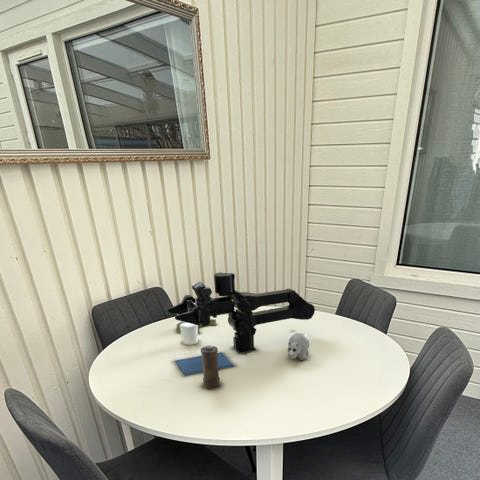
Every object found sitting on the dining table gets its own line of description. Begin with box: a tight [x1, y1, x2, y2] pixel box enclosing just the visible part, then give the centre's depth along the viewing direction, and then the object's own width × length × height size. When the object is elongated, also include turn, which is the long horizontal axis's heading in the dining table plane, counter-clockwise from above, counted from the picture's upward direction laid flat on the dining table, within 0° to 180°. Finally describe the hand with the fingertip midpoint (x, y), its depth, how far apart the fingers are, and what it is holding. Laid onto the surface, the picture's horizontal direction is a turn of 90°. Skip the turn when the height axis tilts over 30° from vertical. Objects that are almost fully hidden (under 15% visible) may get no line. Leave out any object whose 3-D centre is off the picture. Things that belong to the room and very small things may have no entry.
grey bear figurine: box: [287, 332, 311, 361], centre depth 138 cm, size 7×12×8 cm, turn 152°
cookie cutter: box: [176, 318, 217, 335], centre depth 172 cm, size 18×12×2 cm, turn 149°
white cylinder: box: [179, 322, 199, 346], centre depth 156 cm, size 7×7×7 cm
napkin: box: [174, 352, 235, 377], centre depth 140 cm, size 17×13×1 cm
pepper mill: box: [200, 344, 221, 390], centre depth 122 cm, size 5×5×12 cm
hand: (171, 314), depth 134 cm, fingers open, 9 cm apart
